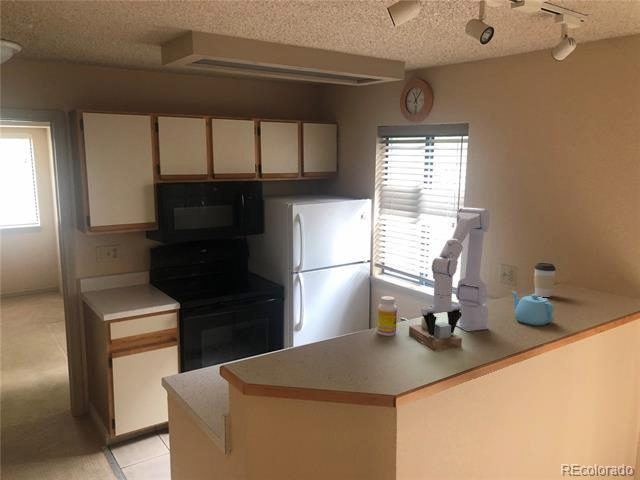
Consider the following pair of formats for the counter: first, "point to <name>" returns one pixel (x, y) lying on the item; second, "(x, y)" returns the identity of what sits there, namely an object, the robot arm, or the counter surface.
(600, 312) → the counter surface
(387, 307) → the supplement bottle
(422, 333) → the base
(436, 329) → the peg
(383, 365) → the counter surface
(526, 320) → the teapot
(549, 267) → the coffee cup
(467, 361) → the counter surface
